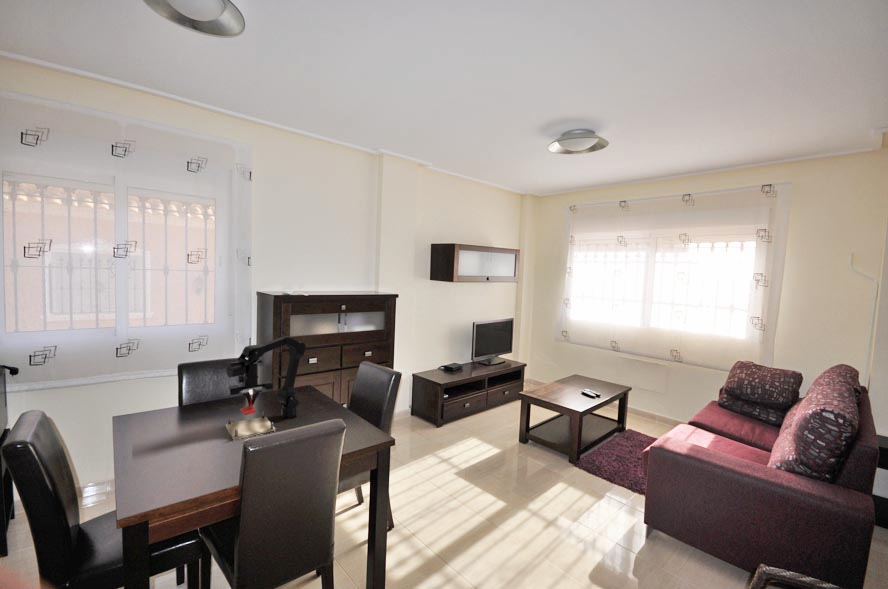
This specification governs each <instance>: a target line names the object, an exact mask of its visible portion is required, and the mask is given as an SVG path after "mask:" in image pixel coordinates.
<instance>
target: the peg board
mask: <svg viewBox="0 0 888 589" xmlns="http://www.w3.org/2000/svg"><path fill="white" fill-rule="evenodd" d="M225 428H226V430H227V432H228V434H229V435H231V436H230V438H231V437H232V438H231V439H233V440H235V441H238V440H237V439H240V440H242V439H241V438H243V437H244V439H248V438H253V437H257V436H262V435H264V434H260V433H266V432H270V431H274V432H270V433H267V434H271V433H276V427H275V426H274V422H273V421H270V420H269V419H268V417H267V416H265V411H261V416H260V417H256V418H249V419H245V420H244V419H243V420H241V421H240V420H239V421H235V422H232V417H227V423H226V424H225ZM255 434H260V435H256V436H251V435H255ZM267 434H266V435H267ZM248 436H249V437H248ZM245 437H247V438H245ZM233 440H232V441H233Z"/></svg>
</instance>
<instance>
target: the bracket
mask: <svg viewBox="0 0 888 589" xmlns="http://www.w3.org/2000/svg"><path fill="white" fill-rule="evenodd" d="M246 403H247V406H244V407H240V412H241V413H242V414H244V416H248V415H251V414H255V413H257V409H255V408H254V405H252V395H251V394H250V406H249V405H248V402H247V401H246Z"/></svg>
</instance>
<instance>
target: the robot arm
mask: <svg viewBox="0 0 888 589" xmlns="http://www.w3.org/2000/svg"><path fill="white" fill-rule="evenodd" d="M283 346H284V347H287V348H288V354H289V360H288V361H289V362H288V364H287V370H286V374H285V379H284V383H283V386H282V387H281V388H278V389H277V394H276V397H277V401H278V402H280V405H282V406H281V407H282V408H281V409H280V411H281V412H280V416H281V417H282V418H283V419H284V420H289V419H288V418H290V419H294V418H293V417H295V418H298V415H297V407H298V406H299V405H300V401H299V400H298V399H297V398H296V390H295V382H296V380H297V378H296V377H297V374H298V369H299V365H300V360H301V359H302V357H303V356H304V355H305V352H306V349H307V346H306V344H305V343H304V342H301V341H297V340H295V339H293V338H291V337H290V336H287V335H281V337H277V338H275V339H271V340H269V341H266V342H263V343H260V344H253V345H247V346H244V348H243V350H242V352H241V353H240V355H239V357H238V358H237V359H236V361H230V362H228V365H227V367H226V375H227V377H228V378H235V377H237V383H238V384H241V383H242V385H243V386H239V385H238V384H236V385H229V386H228V388H227V392H228V394H229V395H230V396H234V395H239V393H241V395H242V396H244V397H245V399H246V403H247V402H248V405H249V406H250V395H251V393H250V392H249V390H252V395H251V398H252V405H253V406H254V405H255V402H256V400H257V398H258V397H259V395H260V393H262V392H263V391H262V389H263V388H264V389H265V390H273V389H274V383H273V382H272V381H271V380H264V381H261V383H259V382H258V380H259V364H260V363H263V360H262V359H261V357H263V356H264V355H265V354H266V353H268V352H271V351H274V350H276V349H278V348H281V347H283ZM248 405H247V406H248Z"/></svg>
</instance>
